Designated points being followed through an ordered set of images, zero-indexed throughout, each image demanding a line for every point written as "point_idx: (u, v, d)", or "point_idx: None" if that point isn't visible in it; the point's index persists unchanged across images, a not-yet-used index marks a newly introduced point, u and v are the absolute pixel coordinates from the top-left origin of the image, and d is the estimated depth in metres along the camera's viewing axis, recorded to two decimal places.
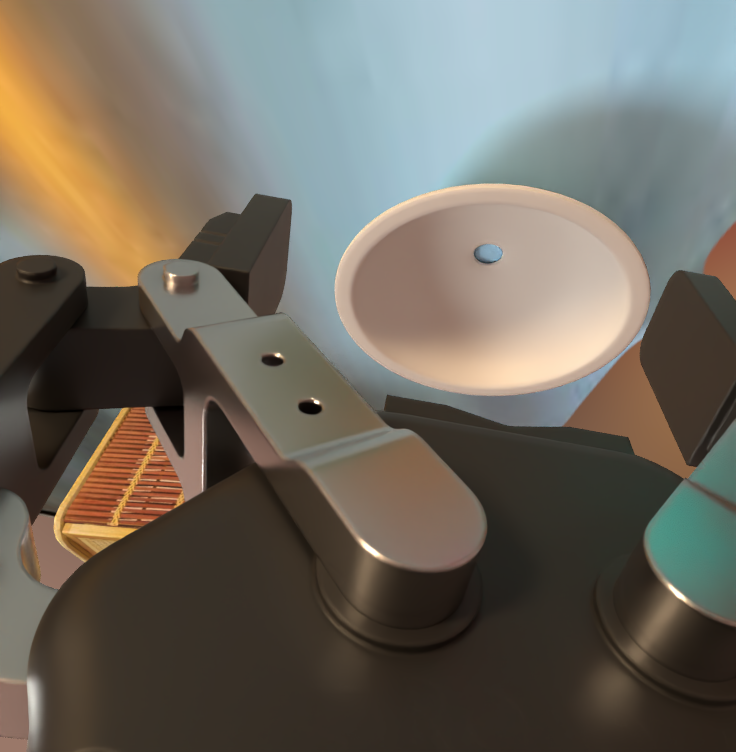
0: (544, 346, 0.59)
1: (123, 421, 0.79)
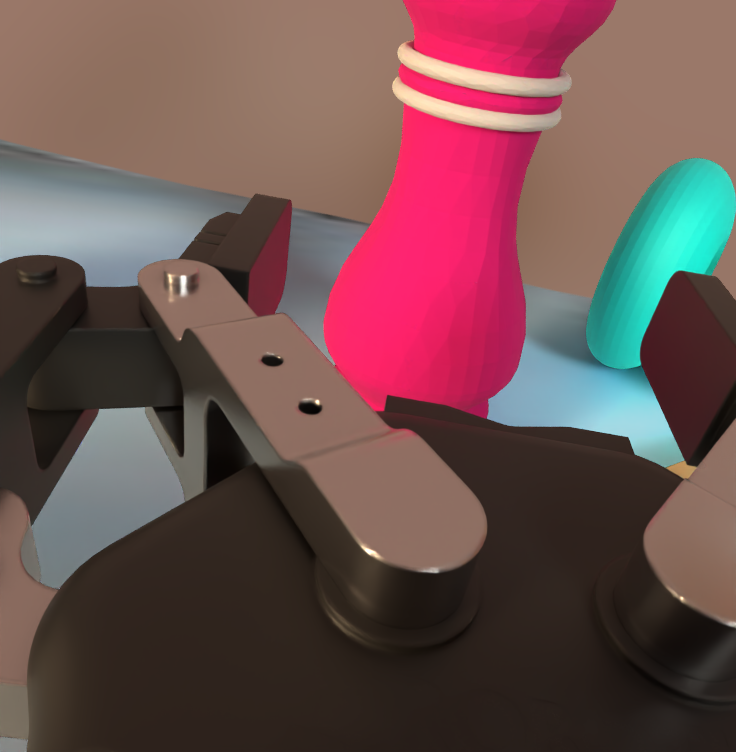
0: None
1: None
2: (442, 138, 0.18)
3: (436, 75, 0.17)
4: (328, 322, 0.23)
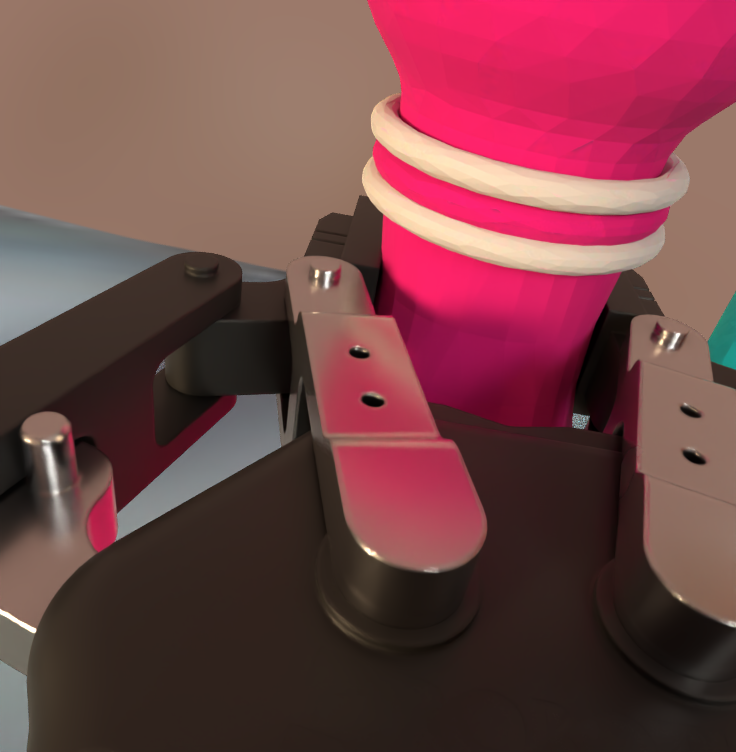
0: None
1: None
2: (451, 282, 0.10)
3: (441, 174, 0.09)
4: None
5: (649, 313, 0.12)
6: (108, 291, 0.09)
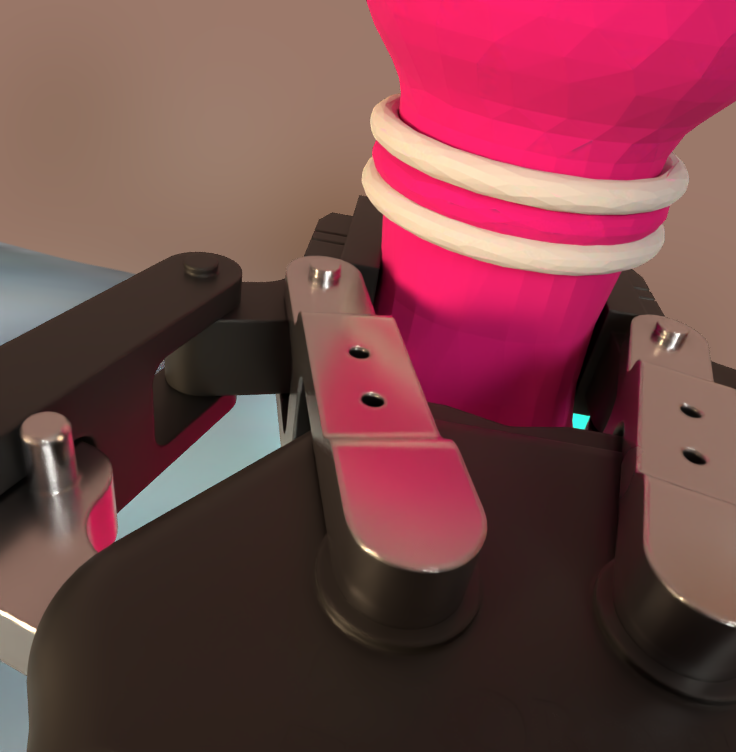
0: None
1: None
2: (451, 282, 0.10)
3: (440, 175, 0.09)
4: None
5: (649, 313, 0.12)
6: (108, 291, 0.09)
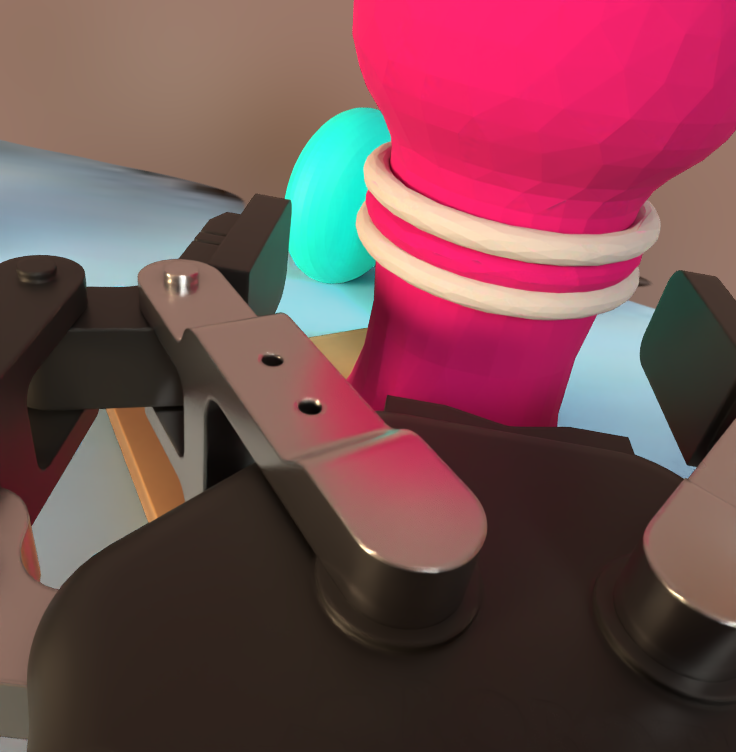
0: None
1: None
2: (438, 322, 0.11)
3: (426, 228, 0.10)
4: None
5: None
6: None
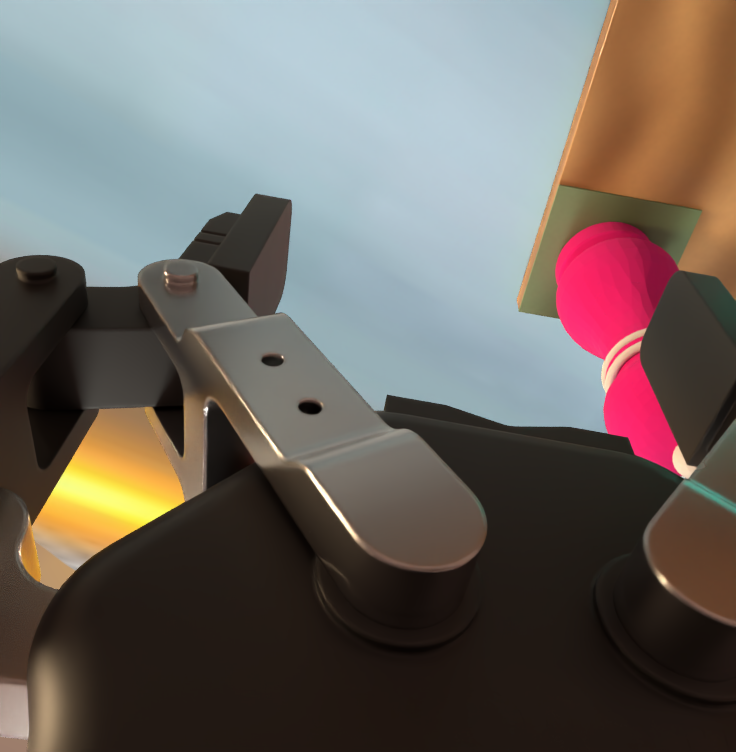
0: None
1: None
2: None
3: (605, 386, 0.33)
4: (568, 274, 0.39)
5: None
6: None
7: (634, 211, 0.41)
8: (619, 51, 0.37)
